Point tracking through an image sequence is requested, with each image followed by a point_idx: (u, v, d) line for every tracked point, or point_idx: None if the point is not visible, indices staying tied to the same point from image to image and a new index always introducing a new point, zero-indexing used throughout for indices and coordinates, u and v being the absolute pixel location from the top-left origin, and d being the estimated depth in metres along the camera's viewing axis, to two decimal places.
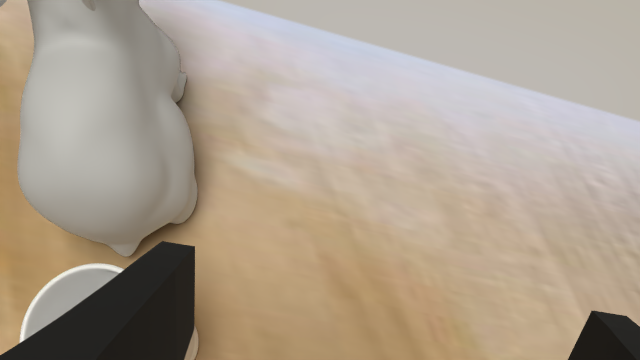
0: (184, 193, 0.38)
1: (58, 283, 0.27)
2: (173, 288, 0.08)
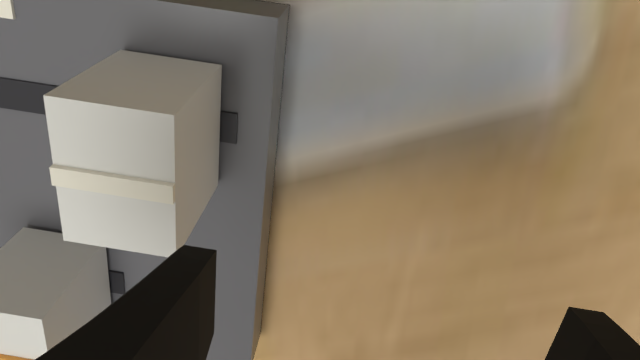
0: None
1: None
2: (197, 292, 0.08)
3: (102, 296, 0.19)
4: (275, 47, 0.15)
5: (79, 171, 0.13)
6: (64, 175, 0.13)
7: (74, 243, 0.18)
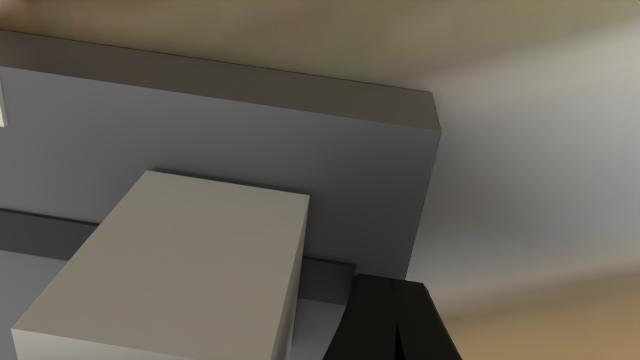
0: None
1: None
2: None
3: None
4: (429, 173, 0.09)
5: None
6: None
7: None
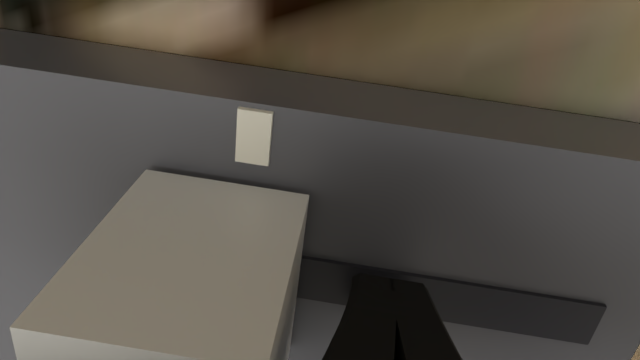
0: None
1: None
2: None
3: None
4: None
5: None
6: None
7: None
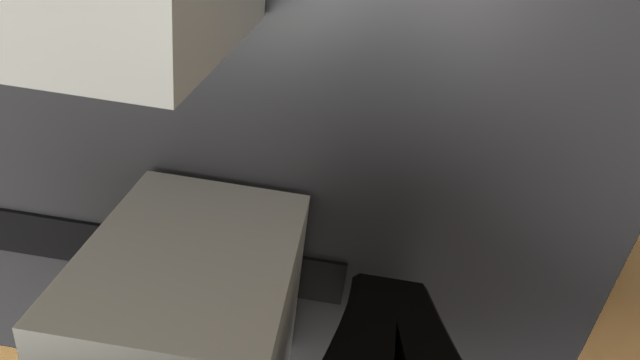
0: None
1: None
2: None
3: (294, 305, 0.10)
4: None
5: None
6: None
7: (255, 200, 0.09)
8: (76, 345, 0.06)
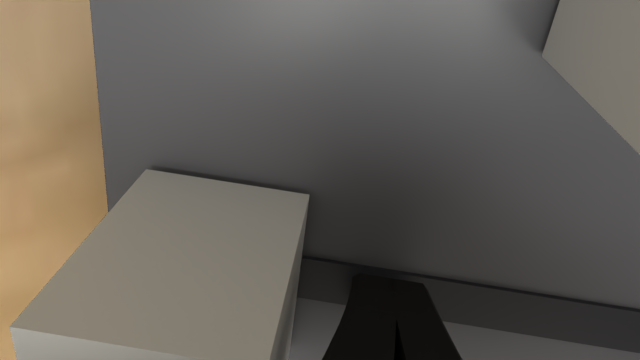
0: None
1: None
2: None
3: (294, 305, 0.10)
4: None
5: None
6: None
7: (255, 199, 0.09)
8: (73, 344, 0.06)
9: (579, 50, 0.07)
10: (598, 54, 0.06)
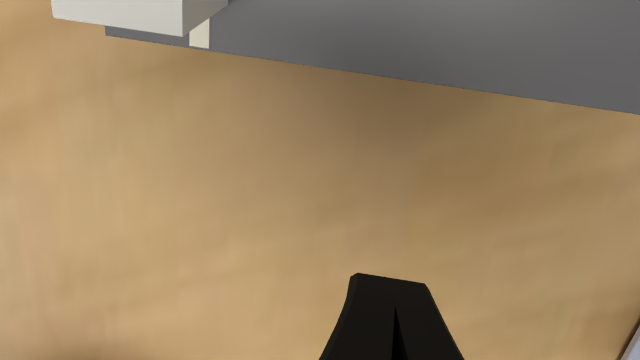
0: None
1: None
2: None
3: None
4: None
5: None
6: None
7: None
8: None
9: None
10: None
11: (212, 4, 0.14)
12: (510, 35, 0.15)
